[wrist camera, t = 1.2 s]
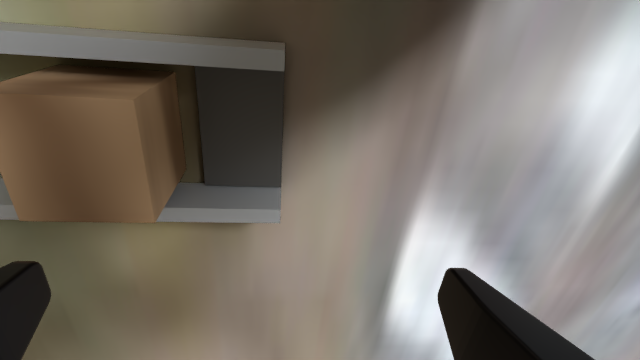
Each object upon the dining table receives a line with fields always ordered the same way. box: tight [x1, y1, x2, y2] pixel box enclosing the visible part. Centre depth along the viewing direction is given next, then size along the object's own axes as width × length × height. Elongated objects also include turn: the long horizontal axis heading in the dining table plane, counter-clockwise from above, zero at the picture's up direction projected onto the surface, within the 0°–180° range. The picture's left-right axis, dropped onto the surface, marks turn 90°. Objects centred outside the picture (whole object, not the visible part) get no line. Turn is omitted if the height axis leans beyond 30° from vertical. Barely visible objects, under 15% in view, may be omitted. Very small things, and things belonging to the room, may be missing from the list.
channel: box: [0, 22, 285, 223], centre depth 15 cm, size 16×8×2 cm, turn 86°
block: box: [0, 65, 186, 223], centre depth 15 cm, size 5×5×5 cm
